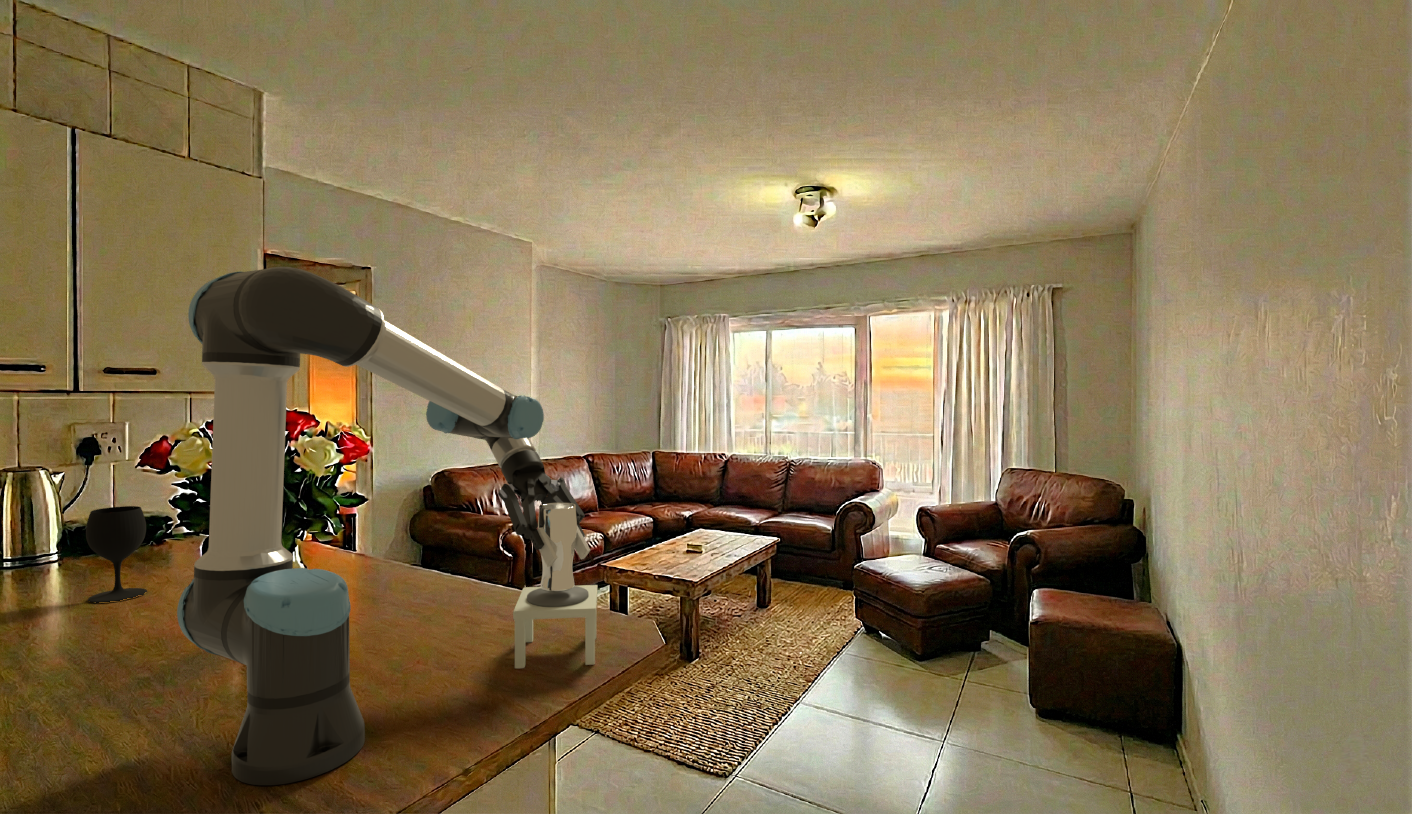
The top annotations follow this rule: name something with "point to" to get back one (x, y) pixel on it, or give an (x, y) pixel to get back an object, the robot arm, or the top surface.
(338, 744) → the robot arm
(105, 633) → the top surface
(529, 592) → the stool
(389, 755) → the top surface
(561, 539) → the beer glass
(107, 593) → the wine glass
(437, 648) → the top surface
